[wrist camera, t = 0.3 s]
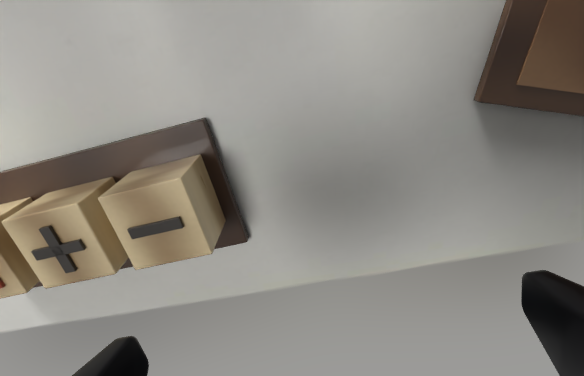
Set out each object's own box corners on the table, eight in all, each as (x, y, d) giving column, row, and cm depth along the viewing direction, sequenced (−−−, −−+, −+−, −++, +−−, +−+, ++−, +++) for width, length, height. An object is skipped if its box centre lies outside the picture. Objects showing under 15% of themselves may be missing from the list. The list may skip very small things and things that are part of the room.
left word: (205, 117, 20) (180, 138, 16) (248, 237, 23) (237, 281, 19) (-52, 185, 22) (-132, 219, 18) (19, 286, 25) (-36, 335, 21)
